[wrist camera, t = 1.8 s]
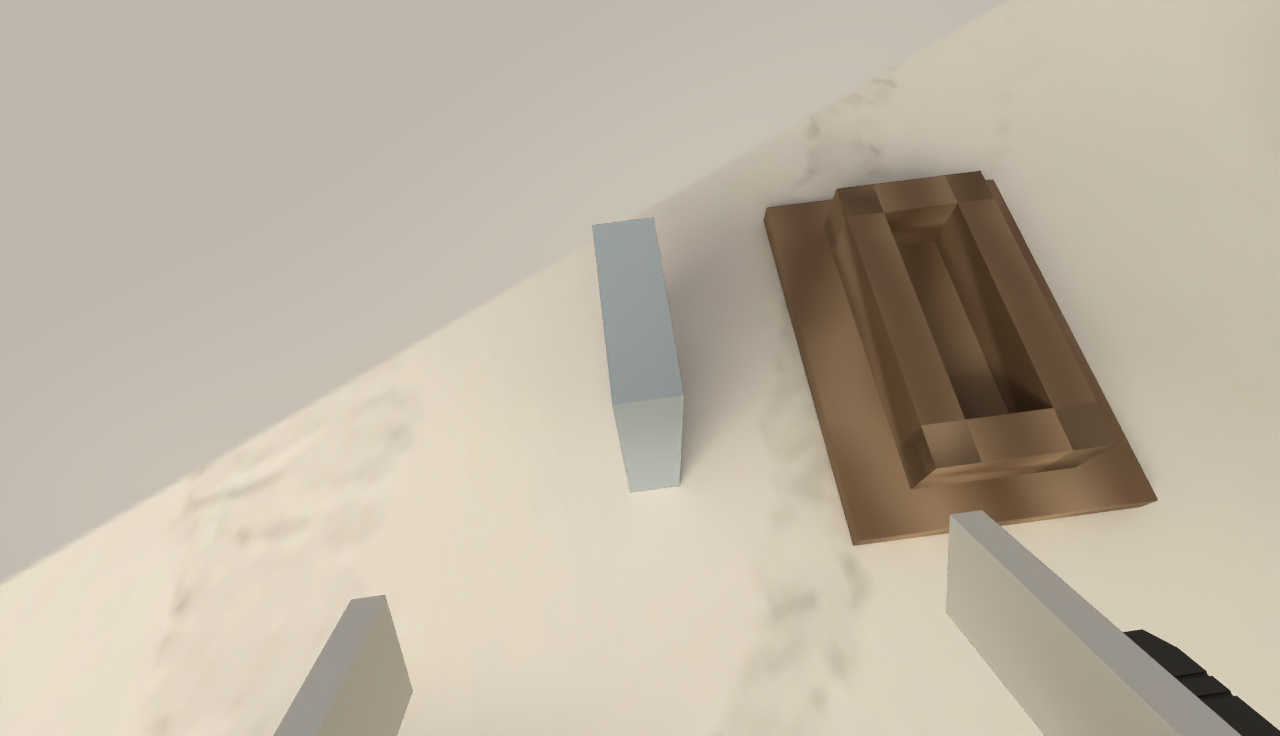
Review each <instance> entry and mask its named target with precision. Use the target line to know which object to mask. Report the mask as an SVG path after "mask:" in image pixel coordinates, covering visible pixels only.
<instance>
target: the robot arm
mask: <svg viewBox="0 0 1280 736" xmlns="http://www.w3.org/2000/svg"><path fill="white" fill-rule="evenodd" d="M946 613H947V614H948V616H949V617H950V618H951V619H952V621H953V622H954V623H955V624H956V626H957V627H958V628H959V629H960V631H961V632H962V633H963V634H964V636H965V637H966V638H967V639H968V641H969V642H970V643H971V644H972V646H973V647H974V648H975V649H976V651H977V652H978V653H979V654H980V655H981V657H982V658H983V659H984V660H985V662H986V663H987V664H988V665H989V667H990V668H991V669H992V670H993V672H994V673H995V674H996V675H997V677H998V678H999V679H1000V680H1001V682H1002V683H1003V684H1004V685H1005V687H1006V688H1007V689H1008V690H1009V692H1010V693H1011V694H1012V695H1013V697H1014V698H1015V699H1016V700H1017V702H1018V703H1019V704H1020V705H1021V707H1022V708H1023V709H1024V710H1025V712H1026V713H1027V714H1028V715H1029V717H1030V718H1031V719H1032V720H1033V722H1034V723H1035V724H1036V725H1037V727H1038V728H1039V729H1040V730H1041V732H1042V733H1043V734H1044V735H1045V736H1280V731H1279V730H1278V729H1277V728H1276V727H1274V726H1273V725H1272V724H1271V723H1269V722H1268V721H1267V720H1266V719H1265V718H1263V717H1262V716H1261V715H1260V714H1258V713H1257V712H1256V711H1255V710H1253V709H1252V708H1251V707H1250V706H1249V705H1247V704H1246V703H1245V702H1244V701H1242V700H1241V699H1240V698H1239V697H1237V696H1233V695H1232V694H1231V691H1230V690H1229V689H1228V688H1226V687H1225V686H1224V685H1223V684H1221V683H1220V682H1219V681H1218V680H1217V679H1215V678H1214V677H1213V676H1208V675H1207V671H1205V670H1204V669H1203V668H1202V667H1201V666H1199V665H1198V664H1197V663H1196V662H1194V661H1193V660H1192V659H1191V658H1190V657H1188V656H1187V655H1186V654H1185V653H1183V652H1182V651H1181V650H1180V649H1178V648H1177V647H1175V646H1173V645H1171V644H1169V643H1167V642H1165V641H1164V640H1162V639H1160V638H1158V637H1156V636H1154V635H1152V634H1150V633H1148V632H1146V631H1144V630H1135V631H1129V632H1122V631H1121V630H1119V629H1118V628H1117V627H1116V626H1115V625H1114V624H1112V623H1111V622H1110V621H1109V620H1108V619H1107V618H1106V617H1104V616H1103V615H1102V614H1101V613H1100V612H1099V611H1097V610H1096V609H1095V608H1094V607H1093V606H1092V605H1091V604H1089V603H1088V602H1087V601H1086V600H1085V599H1084V598H1083V597H1081V596H1080V595H1079V594H1078V593H1077V592H1076V591H1074V590H1073V589H1072V588H1071V587H1070V586H1069V585H1068V584H1066V583H1065V582H1064V581H1063V580H1062V579H1061V578H1060V577H1058V576H1057V575H1056V574H1055V573H1054V572H1053V571H1051V570H1050V569H1049V568H1048V567H1047V566H1046V565H1045V564H1043V563H1042V562H1041V561H1040V560H1039V559H1038V558H1036V557H1035V556H1034V555H1033V554H1032V553H1031V552H1030V551H1028V550H1027V549H1026V548H1025V547H1024V546H1023V545H1022V544H1020V543H1019V542H1018V541H1017V540H1016V539H1015V538H1013V537H1012V536H1011V535H1010V534H1009V533H1008V532H1007V531H1005V530H1004V529H1003V528H1002V527H1001V526H1000V525H998V524H997V523H996V522H995V521H994V520H993V519H992V518H990V517H989V516H988V515H987V514H986V513H985V512H984V511H982V510H979V511H972V512H965V513H958V514H951V515H950V524H949V548H948V573H947V597H946ZM412 691H413V690H412V686H411V683H410V679H409V676H408V672H407V669H406V666H405V662H404V659H403V655H402V652H401V648H400V645H399V641H398V638H397V634H396V631H395V627H394V624H393V620H392V617H391V613H390V610H389V606H388V603H387V600H386V596H385V595H381V596H374V597H367V598H360V599H353V600H351V601H350V603H349V604H348V606H347V608H346V610H345V611H344V613H343V615H342V617H341V618H340V620H339V622H338V624H337V625H336V627H335V629H334V631H333V632H332V634H331V636H330V638H329V639H328V641H327V643H326V645H325V646H324V648H323V650H322V652H321V653H320V655H319V657H318V659H317V660H316V662H315V664H314V666H313V667H312V669H311V671H310V673H309V674H308V676H307V678H306V680H305V681H304V683H303V685H302V687H301V688H300V690H299V692H298V694H297V695H296V697H295V699H294V701H293V702H292V704H291V706H290V708H289V709H288V711H287V713H286V715H285V716H284V718H283V720H282V722H281V723H280V725H279V727H278V729H277V730H276V732H275V734H274V736H397V734H398V731H399V728H400V726H401V723H402V720H403V717H404V714H405V711H406V709H407V706H408V703H409V700H410V697H411V694H412Z"/></svg>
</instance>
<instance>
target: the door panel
mask: <svg viewBox="0 0 1280 736" xmlns="http://www.w3.org/2000/svg"><path fill="white" fill-rule="evenodd" d="M592 227H593V236H594V245H595V254H596V263H597V272H598V281H599V289H600V298H601V307H602V316H603V325H604V334H605V343H606V352H607V360H608V369H609V378H610V387H611V396H612V405H613V410H614V415H615V420H616V425H617V430H618V434H619V439H620V444H621V449H622V454H623V459H624V464H625V469H626V474H627V479H628V484H629V489H630V493H632V492H639V491H647V490H654V489H662V488H669V487H677V486H680V466H681V446H682V427H683V407H684V392H683V386H682V380H681V375H680V369H679V363H678V357H677V351H676V345H675V340H674V334H673V328H672V322H671V316H670V310H669V305H668V299H667V293H666V287H665V281H664V276H663V270H662V264H661V258H660V252H659V246H658V241H657V235H656V229H655V223H654V217H653V218H645V219H637V220H629V221H621V222H613V223H605V224H597V225H593V226H592Z"/></svg>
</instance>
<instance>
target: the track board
mask: <svg viewBox="0 0 1280 736" xmlns="http://www.w3.org/2000/svg"><path fill="white" fill-rule="evenodd" d="M764 223H765V227H766V231H767V234H768V238H769V242H770V245H771V249H772V252H773V256H774V260H775V263H776V267H777V271H778V274H779V278H780V281H781V285H782V289H783V292H784V296H785V300H786V303H787V307H788V310H789V314H790V318H791V321H792V325H793V329H794V332H795V336H796V339H797V343H798V347H799V350H800V354H801V358H802V361H803V365H804V368H805V372H806V376H807V379H808V383H809V387H810V390H811V394H812V397H813V401H814V405H815V408H816V412H817V416H818V419H819V423H820V426H821V430H822V434H823V437H824V441H825V444H826V448H827V452H828V455H829V459H830V463H831V466H832V470H833V473H834V477H835V481H836V484H837V488H838V492H839V495H840V499H841V502H842V506H843V510H844V513H845V517H846V521H847V524H848V528H849V531H850V535H851V539H852V542H853V546H855V545H862V544H870V543H877V542H885V541H892V540H899V539H907V538H914V537H922V536H929V535H936V534H944V533H949V524H950V515H951V514H958V513H965V512H972V511H979V510H982V511H984V512H985V513H986V514H987V515H988V516H989V517H990V518H992V519H993V520H994V521H995V522H996V523H997V524H998V525H1000V526H1003V525H1010V524H1018V523H1025V522H1032V521H1040V520H1047V519H1054V518H1062V517H1069V516H1077V515H1084V514H1091V513H1099V512H1106V511H1113V510H1121V509H1128V508H1136V507H1141V506H1144V505H1147V504H1149V503H1152V502H1155V501H1157V500H1158V499H1157V497H1156V495H1155V493H1154V491H1153V489H1152V487H1151V485H1150V483H1149V482H1148V480H1147V478H1146V476H1145V474H1144V472H1143V470H1142V468H1141V466H1140V464H1139V462H1138V460H1137V458H1136V456H1135V454H1134V452H1133V450H1132V448H1131V447H1130V445H1129V443H1128V441H1127V439H1126V437H1125V435H1124V433H1123V431H1122V429H1121V427H1120V425H1119V423H1118V421H1117V419H1116V417H1115V415H1114V413H1113V411H1112V410H1111V408H1110V406H1109V404H1108V402H1107V400H1106V398H1105V396H1104V394H1103V392H1102V390H1101V388H1100V386H1099V384H1098V382H1097V380H1096V378H1095V376H1094V375H1093V373H1092V371H1091V369H1090V367H1089V365H1088V363H1087V361H1086V359H1085V357H1084V355H1083V353H1082V351H1081V349H1080V347H1079V345H1078V343H1077V341H1076V340H1075V338H1074V336H1073V334H1072V332H1071V330H1070V328H1069V326H1068V324H1067V322H1066V320H1065V318H1064V316H1063V314H1062V312H1061V310H1060V308H1059V306H1058V305H1057V303H1056V301H1055V299H1054V297H1053V295H1052V293H1051V291H1050V289H1049V287H1048V285H1047V283H1046V281H1045V279H1044V277H1043V275H1042V273H1041V271H1040V270H1039V268H1038V266H1037V264H1036V262H1035V260H1034V258H1033V256H1032V254H1031V252H1030V250H1029V248H1028V246H1027V244H1026V242H1025V240H1024V238H1023V236H1022V235H1021V233H1020V231H1019V229H1018V227H1017V225H1016V223H1015V221H1014V219H1013V217H1012V215H1011V213H1010V211H1009V209H1008V207H1007V205H1006V203H1005V201H1004V200H1003V198H1002V196H1001V194H1000V192H999V190H998V188H997V186H996V184H995V182H994V180H985V179H984V177H983V175H982V173H981V171H976V172H968V173H960V174H952V175H944V176H936V177H928V178H920V179H912V180H904V181H896V182H888V183H880V184H872V185H864V186H856V187H848V188H840V189H837V190H836V193H835V196H834V198H833V200H825V201H817V202H809V203H801V204H793V205H785V206H777V207H769V208H766V213H765V218H764Z"/></svg>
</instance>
